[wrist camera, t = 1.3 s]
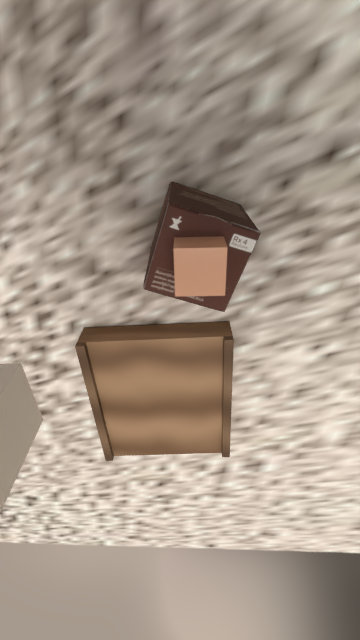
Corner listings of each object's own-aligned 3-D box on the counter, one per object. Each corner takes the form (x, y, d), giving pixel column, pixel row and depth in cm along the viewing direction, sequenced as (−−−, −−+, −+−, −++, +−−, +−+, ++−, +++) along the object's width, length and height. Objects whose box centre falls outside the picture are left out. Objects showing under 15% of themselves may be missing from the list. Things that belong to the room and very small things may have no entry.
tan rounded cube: (174, 237, 20) (173, 248, 19) (223, 236, 20) (227, 247, 19) (175, 282, 22) (175, 296, 20) (221, 281, 22) (224, 295, 20)
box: (149, 251, 28) (139, 289, 22) (170, 178, 25) (166, 199, 19) (216, 272, 29) (225, 314, 23) (244, 204, 26) (263, 232, 20)
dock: (83, 327, 32) (75, 346, 30) (229, 321, 32) (233, 340, 29) (110, 438, 41) (105, 460, 38) (226, 434, 40) (229, 456, 38)
